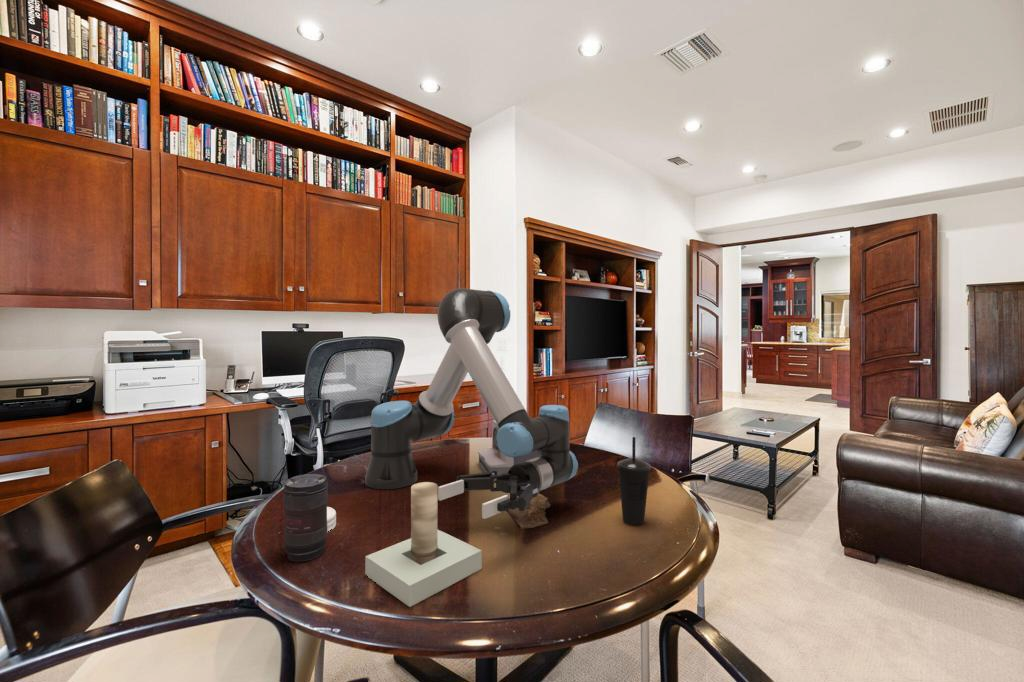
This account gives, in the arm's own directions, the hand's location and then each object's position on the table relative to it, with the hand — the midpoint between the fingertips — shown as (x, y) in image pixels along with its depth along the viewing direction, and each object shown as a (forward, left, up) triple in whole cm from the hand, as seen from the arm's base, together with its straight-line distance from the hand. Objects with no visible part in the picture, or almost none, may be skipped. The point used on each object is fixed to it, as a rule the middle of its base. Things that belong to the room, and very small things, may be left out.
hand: (459, 502), depth 89 cm
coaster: (-34, -15, -11) cm, 39 cm away
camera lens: (-23, -21, -11) cm, 33 cm away
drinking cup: (+18, +38, -11) cm, 44 cm away
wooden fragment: (-6, +28, -11) cm, 31 cm away
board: (0, -9, -11) cm, 14 cm away
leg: (0, -9, -11) cm, 14 cm away
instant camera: (-31, +48, -11) cm, 58 cm away
